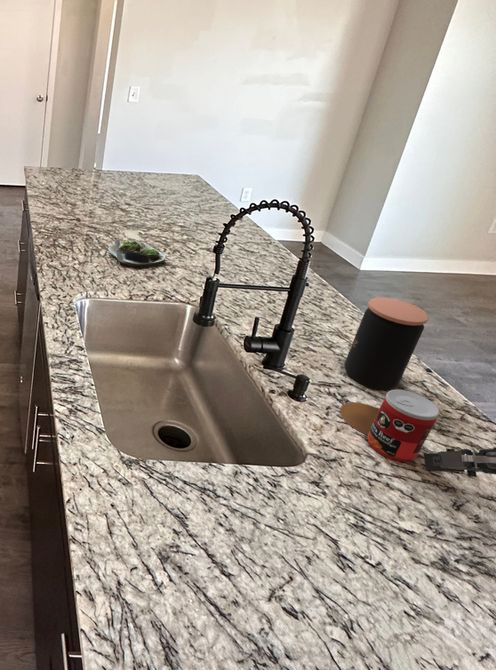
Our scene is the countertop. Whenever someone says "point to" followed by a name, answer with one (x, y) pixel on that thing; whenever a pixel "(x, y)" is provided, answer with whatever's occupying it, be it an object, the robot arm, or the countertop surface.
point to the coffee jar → (384, 342)
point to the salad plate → (136, 254)
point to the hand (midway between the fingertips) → (429, 462)
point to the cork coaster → (359, 416)
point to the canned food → (402, 425)
